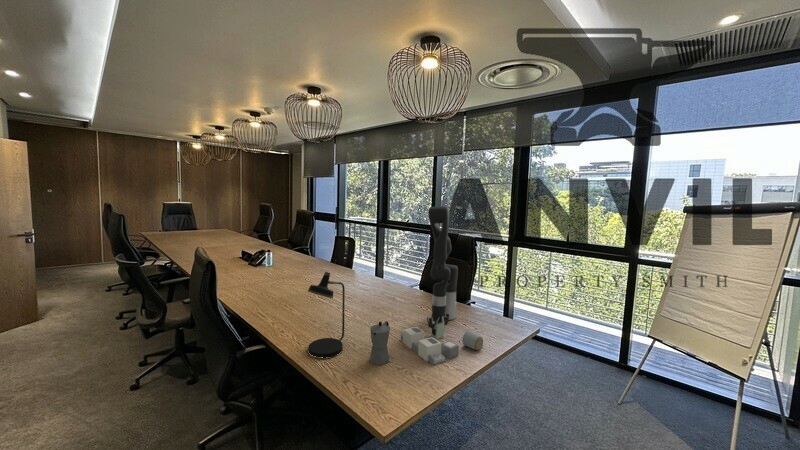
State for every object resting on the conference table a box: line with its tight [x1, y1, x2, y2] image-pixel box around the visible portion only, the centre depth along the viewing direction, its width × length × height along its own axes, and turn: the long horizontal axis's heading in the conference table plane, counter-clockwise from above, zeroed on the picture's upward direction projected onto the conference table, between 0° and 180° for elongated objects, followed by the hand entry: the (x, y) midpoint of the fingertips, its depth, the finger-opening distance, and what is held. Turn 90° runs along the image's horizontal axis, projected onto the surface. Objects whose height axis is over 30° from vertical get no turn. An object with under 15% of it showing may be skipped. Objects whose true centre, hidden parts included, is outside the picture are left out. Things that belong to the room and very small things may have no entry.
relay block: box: [441, 340, 460, 360], centre depth 150 cm, size 6×6×5 cm
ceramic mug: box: [461, 330, 484, 351], centre depth 158 cm, size 11×8×8 cm
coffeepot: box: [369, 320, 391, 366], centre depth 143 cm, size 15×9×18 cm, turn 159°
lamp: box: [307, 271, 346, 358], centre depth 150 cm, size 16×22×38 cm
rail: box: [400, 333, 446, 366], centre depth 153 cm, size 7×28×3 cm, turn 31°
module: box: [431, 322, 445, 340], centre depth 168 cm, size 4×5×8 cm
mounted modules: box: [402, 326, 442, 362], centre depth 153 cm, size 8×20×7 cm, turn 31°
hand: (437, 333), depth 169 cm, fingers closed on module, 4 cm apart
